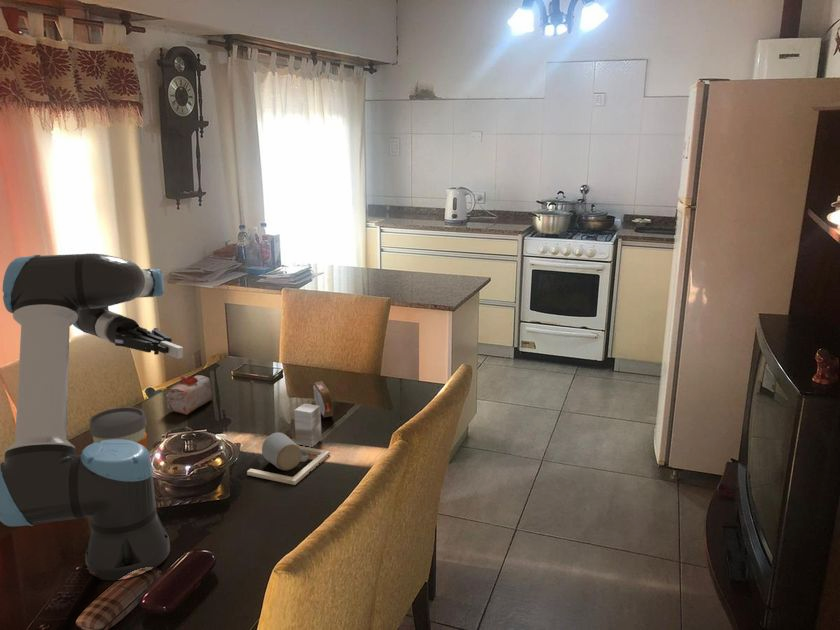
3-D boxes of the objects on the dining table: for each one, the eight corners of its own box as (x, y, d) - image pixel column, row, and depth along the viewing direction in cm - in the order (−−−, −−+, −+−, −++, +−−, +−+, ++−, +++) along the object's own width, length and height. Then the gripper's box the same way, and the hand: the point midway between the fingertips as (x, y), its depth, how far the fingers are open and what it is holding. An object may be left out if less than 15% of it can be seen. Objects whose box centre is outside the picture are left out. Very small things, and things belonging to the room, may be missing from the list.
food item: (187, 417, 198) (185, 386, 196) (165, 414, 201) (162, 382, 198) (215, 400, 211) (213, 371, 208) (193, 398, 213) (191, 368, 211)
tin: (334, 420, 196) (333, 393, 194) (323, 422, 195) (322, 395, 193) (322, 402, 209) (321, 377, 207) (312, 403, 208) (311, 378, 206)
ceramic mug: (278, 476, 163) (277, 447, 161) (261, 464, 169) (260, 436, 167) (315, 463, 170) (314, 435, 168) (298, 452, 176) (297, 425, 174)
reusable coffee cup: (91, 489, 157) (83, 430, 153) (101, 465, 169) (93, 409, 165) (148, 482, 160) (142, 424, 156) (154, 459, 172) (148, 404, 168)
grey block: (312, 447, 178) (310, 412, 176) (295, 444, 180) (294, 410, 178) (321, 440, 183) (320, 406, 180) (305, 437, 185) (304, 403, 182)
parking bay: (295, 485, 159) (294, 481, 159) (247, 474, 164) (247, 471, 163) (330, 454, 174) (329, 451, 174) (285, 446, 179) (285, 442, 179)
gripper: (139, 338, 183) (200, 361, 172) (95, 347, 172) (157, 373, 161) (139, 312, 181) (201, 334, 170) (96, 319, 170) (159, 343, 159)
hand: (180, 353), depth 166 cm, fingers closed
